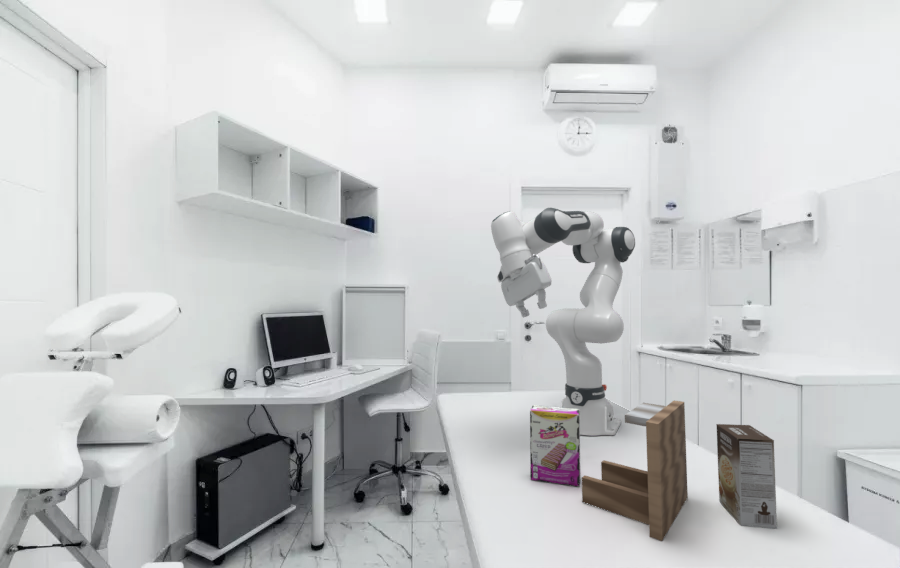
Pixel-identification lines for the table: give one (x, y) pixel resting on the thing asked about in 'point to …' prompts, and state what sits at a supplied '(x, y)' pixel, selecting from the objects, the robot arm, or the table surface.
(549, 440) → the candy bar box
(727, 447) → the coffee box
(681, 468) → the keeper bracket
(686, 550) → the table surface
